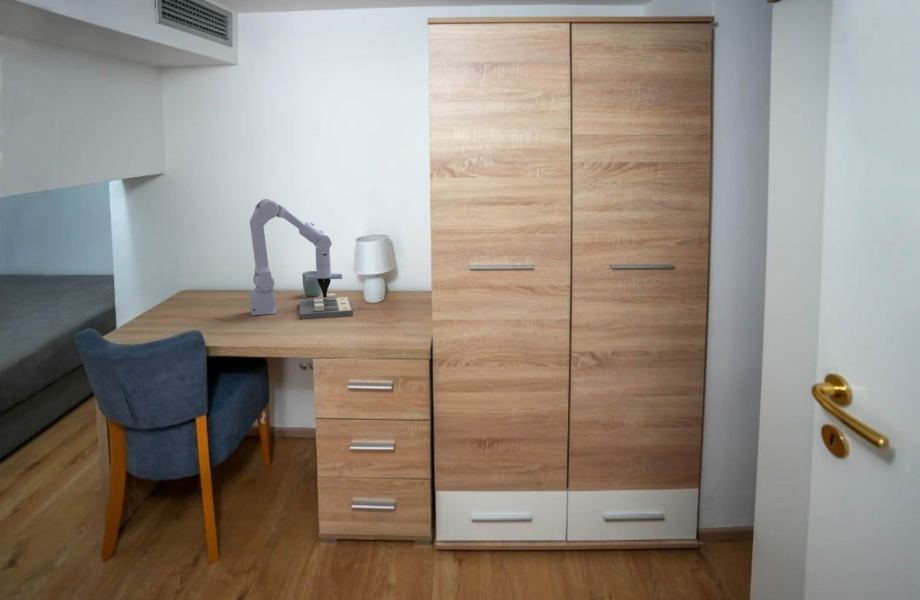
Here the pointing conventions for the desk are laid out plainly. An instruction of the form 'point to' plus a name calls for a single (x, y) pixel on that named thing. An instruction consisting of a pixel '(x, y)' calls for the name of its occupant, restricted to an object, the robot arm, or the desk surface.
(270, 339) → the desk surface
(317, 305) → the white cube
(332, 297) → the switch tab
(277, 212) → the robot arm
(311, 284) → the cup
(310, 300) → the switch board
